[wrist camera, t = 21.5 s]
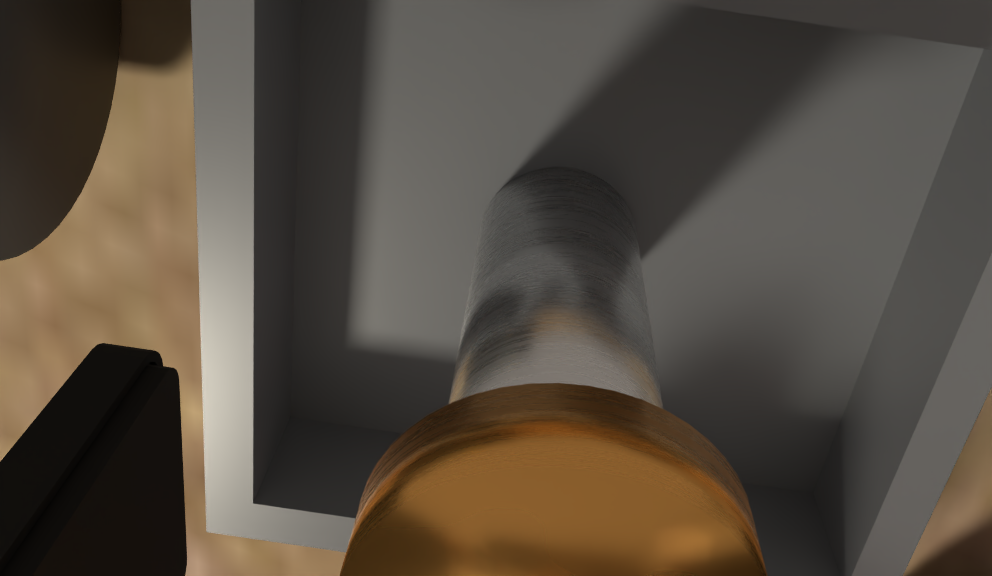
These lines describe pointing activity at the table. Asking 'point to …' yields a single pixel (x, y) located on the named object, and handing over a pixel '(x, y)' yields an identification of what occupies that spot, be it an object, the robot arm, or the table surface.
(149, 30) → the table surface
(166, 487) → the robot arm
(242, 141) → the tray
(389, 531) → the pin
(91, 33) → the grey-green toy cart
